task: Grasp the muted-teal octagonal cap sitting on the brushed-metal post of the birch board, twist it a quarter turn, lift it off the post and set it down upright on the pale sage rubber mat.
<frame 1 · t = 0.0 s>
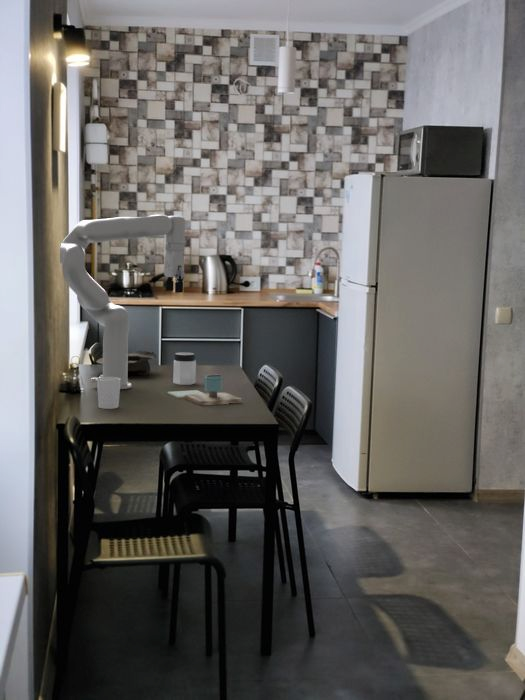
hand: (174, 291, 362), 37 cm above the table, tool pointing down, fingers open, 9 cm apart
cap: (213, 389, 334), point 4 cm above the table, touching post base
white cup: (108, 407, 317), on the table
stone bowl: (125, 374, 389), on the table
mat: (187, 394, 344), on the table
jar: (184, 383, 370), on the table
post base: (213, 400, 334), on the table
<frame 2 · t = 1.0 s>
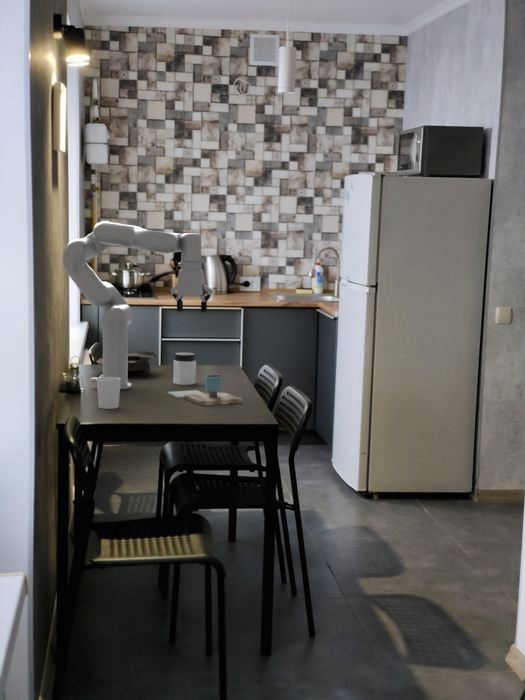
hand: (191, 311, 350), 30 cm above the table, tool pointing down, fingers open, 9 cm apart
nothing on the table moved.
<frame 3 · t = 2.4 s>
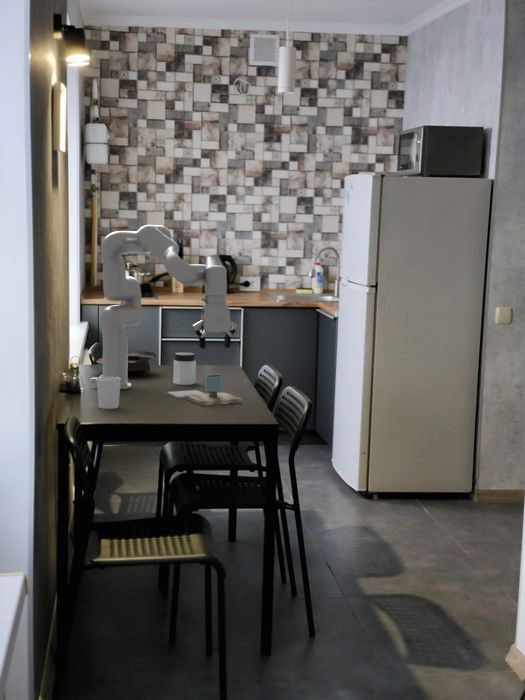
hand: (214, 347, 331), 19 cm above the table, tool pointing down, fingers open, 9 cm apart
nothing on the table moved.
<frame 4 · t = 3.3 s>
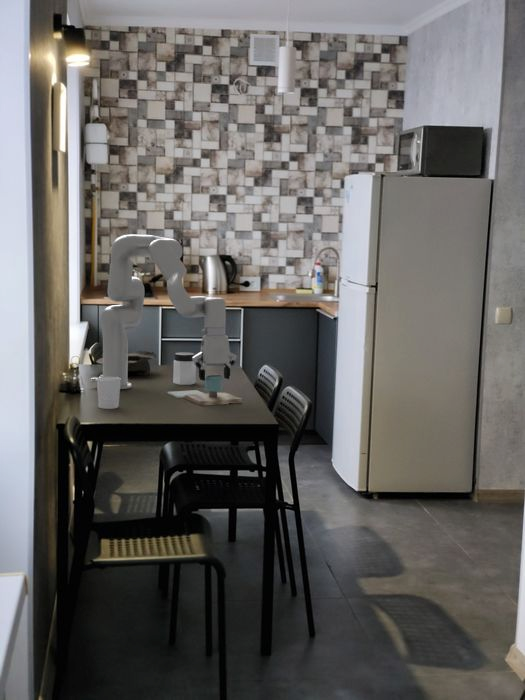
hand: (214, 379, 333), 8 cm above the table, tool pointing down, fingers open, 9 cm apart
nothing on the table moved.
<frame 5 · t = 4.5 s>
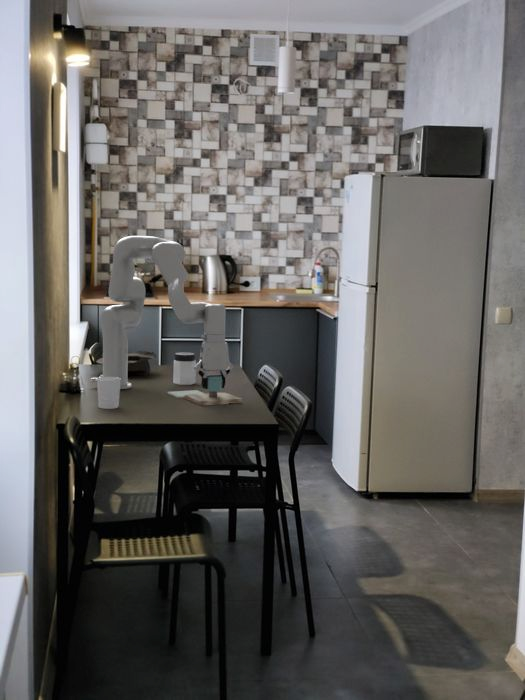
hand: (213, 387, 333), 5 cm above the table, tool pointing down, fingers closed on cap, 6 cm apart
cap: (213, 389, 334), point 4 cm above the table, touching gripper, post base
everything else where it was.
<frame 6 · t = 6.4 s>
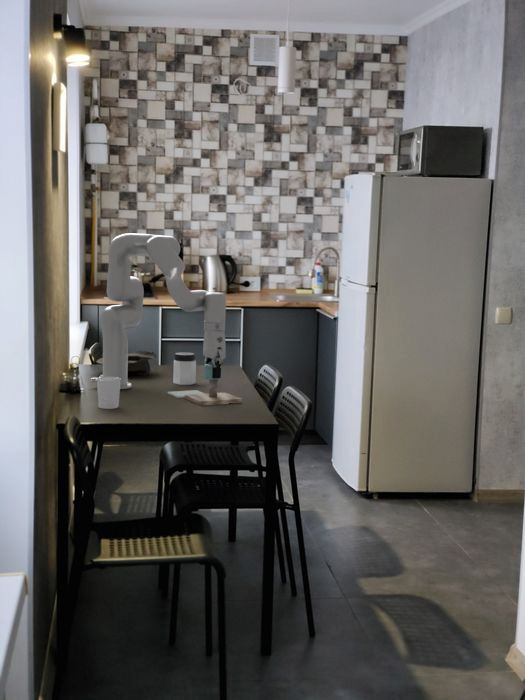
hand: (212, 376, 333), 9 cm above the table, tool pointing down, fingers closed on cap, 6 cm apart
cap: (212, 378, 333), point 8 cm above the table, touching gripper
everything else where it was.
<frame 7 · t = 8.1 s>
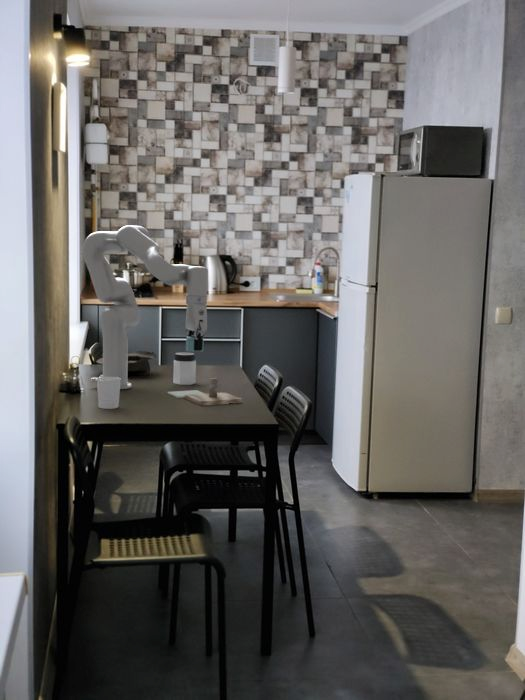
hand: (194, 348, 339), 18 cm above the table, tool pointing down, fingers closed on cap, 6 cm apart
cap: (194, 350, 339), point 17 cm above the table, touching gripper
everything else where it was.
when the fingers open (3 cm above the table, at t = 12.4 s): cap drops 1 cm, resting on mat.
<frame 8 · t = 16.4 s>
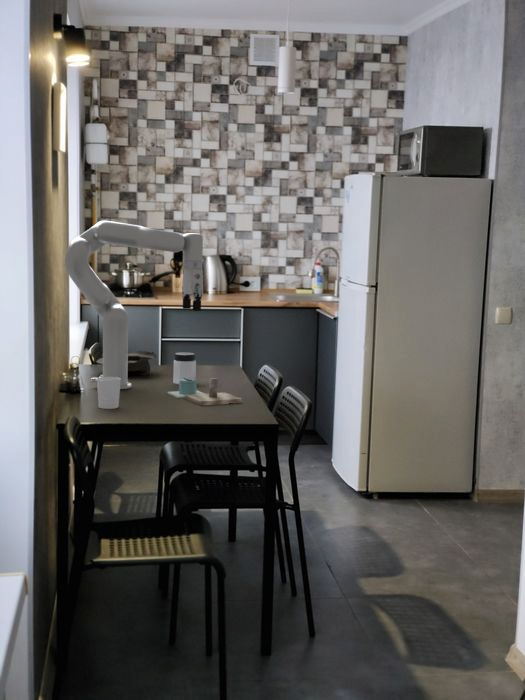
hand: (191, 309, 358), 30 cm above the table, tool pointing down, fingers open, 9 cm apart
cap: (187, 393, 344), point 1 cm above the table, touching mat
everything else where it was.
at the end: cap inside the target area (0.0 cm from its centre), point 0.6 cm above the table; cap tilted 0°; the gripper is holding nothing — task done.
